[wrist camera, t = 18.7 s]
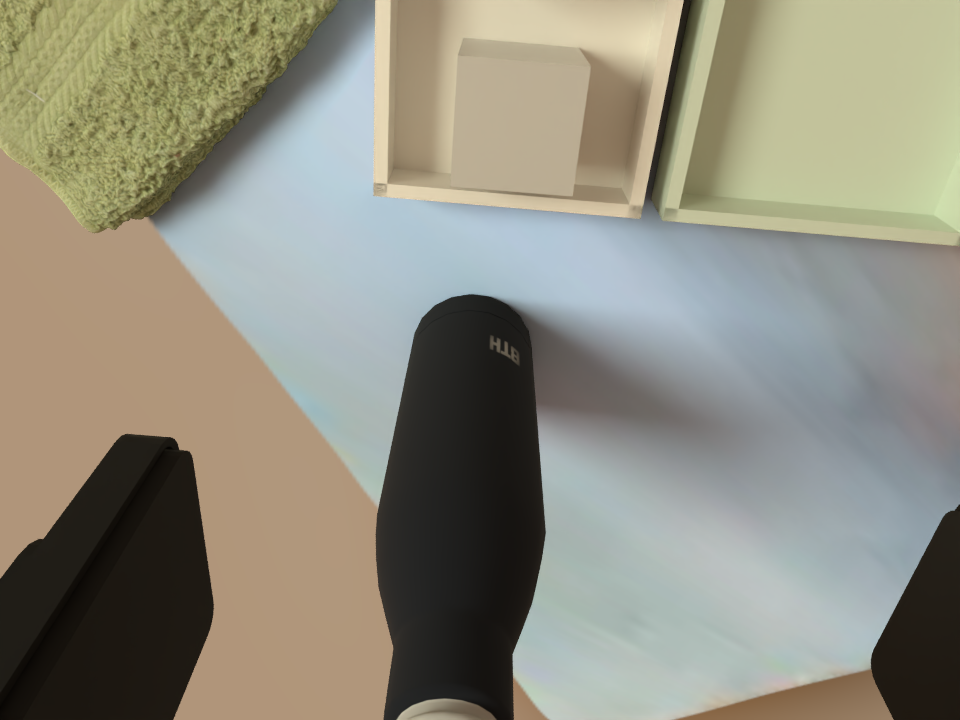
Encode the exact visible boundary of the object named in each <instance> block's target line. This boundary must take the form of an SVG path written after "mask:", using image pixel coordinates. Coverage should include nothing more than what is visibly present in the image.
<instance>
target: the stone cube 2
mask: <svg viewBox="0 0 960 720" xmlns="http://www.w3.org/2000/svg"><path fill="white" fill-rule="evenodd" d="M590 71H591V66H590V64H589V63H588V61H587V60H586V58H585V56H584V55H583V53H582V52H581V50H580V49H579V48H577V47H565V46H554V45H542V44H530V43H519V42H507V41H495V40H484V39H472V38H463V40H462V43H461V47H460V50H459V53H458V59H457V76H456V94H455V111H454V128H453V146H452V163H451V181H450V187H462V188H474V189H487V190H499V191H511V192H523V193H536V194H548V195H560V196H572V197H573V190H574V183H575V176H576V169H577V162H578V155H579V148H580V141H581V134H582V127H583V120H584V113H585V106H586V99H587V92H588V85H589V78H590Z"/></svg>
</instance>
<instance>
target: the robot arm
mask: <svg viewBox="0 0 960 720" xmlns="http://www.w3.org/2000/svg"><path fill="white" fill-rule="evenodd" d="M213 607H214V604H213V595H212V589H211V582H210V575H209V569H208V561H207V554H206V547H205V540H204V533H203V526H202V519H201V512H200V505H199V499H198V491H197V485H196V478H195V471H194V464H193V458H192V455H191V453H190V452H188V451H184V450H179V447H178V444H177V442H176V441H175V439H173V438H171V437H159V436H158V437H157V436H145V435H133V434H125V435H122V436H121V437H120V438H119V439H118V440H117V441H116V442H115V443H114V445H113V446H112V447H111V449H110V450H109V451H108V453H107V454H106V455H105V457H104V458H103V459H102V461H101V462H100V464H99V465H98V466H97V468H96V469H95V470H94V472H93V473H92V474H91V476H90V477H89V478H88V480H87V481H86V482H85V484H84V485H83V486H82V488H81V489H80V490H79V492H78V493H77V494H76V496H75V497H74V499H73V500H72V501H71V503H70V504H69V506H68V507H67V508H66V509H65V511H64V512H63V513H62V515H61V516H60V517H59V519H58V520H57V521H56V523H55V524H54V525H53V527H52V528H51V530H50V531H49V532H48V534H47V535H46V536H45V538H44V539H38V540H36V541H34V542H32V543H30V544H29V545H28V546H27V547H26V548H25V549H24V550H23V551H22V552H21V553H20V554H19V555H18V556H17V558H16V559H15V560H14V562H13V563H12V564H11V566H10V567H9V568H8V570H7V571H6V572H5V574H4V575H3V576H2V578H1V579H0V720H173V719H174V717H175V714H176V712H177V709H178V707H179V704H180V702H181V699H182V697H183V694H184V692H185V690H186V687H187V684H188V682H189V680H190V677H191V675H192V673H193V670H194V668H195V665H196V663H197V660H198V658H199V656H200V653H201V651H202V648H203V646H204V643H205V641H206V639H207V636H208V633H209V631H210V627H211V623H212V618H213V609H214V608H213ZM871 669H872V674H873V678H874V680H875V683H876V685H877V687H878V689H879V691H880V693H881V695H882V697H883V699H884V701H885V703H886V705H887V707H888V709H889V711H890V713H891V715H892V717H893V719H894V720H960V504H959V505H958V507H957V508H956V509H955V511H950V512H948V513H946V514H945V516H944V517H943V518H942V520H941V522H940V524H939V526H938V528H937V530H936V532H935V533H934V535H933V537H932V539H931V541H930V543H929V545H928V547H927V549H926V551H925V553H924V554H923V556H922V558H921V560H920V562H919V564H918V566H917V568H916V570H915V572H914V574H913V575H912V577H911V579H910V581H909V583H908V585H907V587H906V589H905V591H904V593H903V595H902V596H901V598H900V600H899V602H898V604H897V606H896V608H895V610H894V612H893V614H892V616H891V617H890V619H889V621H888V623H887V625H886V627H885V629H884V631H883V633H882V635H881V637H880V638H879V640H878V642H877V644H876V646H875V648H874V650H873V653H872V658H871Z"/></svg>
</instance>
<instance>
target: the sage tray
mask: <svg viewBox="0 0 960 720" xmlns="http://www.w3.org/2000/svg"><path fill="white" fill-rule="evenodd" d="M651 201H652V202H653V204H654V206H655V208H656V210H657V212H658V213H659V215H660V217H661V219H662V221H673V222H684V223H696V224H708V225H719V226H731V227H743V228H754V229H766V230H778V231H789V232H801V233H813V234H825V235H836V236H848V237H860V238H871V239H883V240H895V241H906V242H918V243H930V244H941V245H953V246H960V0H691V4H690V8H689V13H688V18H687V23H686V28H685V33H684V38H683V43H682V48H681V53H680V58H679V63H678V68H677V73H676V78H675V82H674V87H673V92H672V97H671V102H670V107H669V112H668V117H667V122H666V127H665V132H664V137H663V142H662V147H661V152H660V156H659V161H658V166H657V171H656V176H655V181H654V186H653V191H652V196H651Z"/></svg>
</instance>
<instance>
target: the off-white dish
mask: <svg viewBox="0 0 960 720" xmlns="http://www.w3.org/2000/svg"><path fill="white" fill-rule="evenodd" d="M683 2H684V0H375V94H374V196H380V197H392V198H404V199H415V200H427V201H439V202H450V203H462V204H474V205H485V206H497V207H509V208H521V209H532V210H544V211H556V212H567V213H579V214H591V215H602V216H614V217H626V218H637V219H641V214H642V208H643V203H644V198H645V193H646V188H647V183H648V178H649V173H650V168H651V163H652V158H653V153H654V148H655V143H656V138H657V133H658V128H659V123H660V118H661V113H662V108H663V102H664V97H665V92H666V87H667V82H668V77H669V72H670V67H671V62H672V57H673V52H674V47H675V42H676V37H677V32H678V27H679V22H680V17H681V12H682V7H683ZM463 38H472V39H484V40H495V41H507V42H519V43H530V44H542V45H554V46H565V47H577V48H579V49H580V50H581V52H582V53H583V55H584V56H585V58H586V60H587V61H588V63H589V64H590V66H591V71H590V78H589V85H588V92H587V99H586V106H585V113H584V120H583V127H582V134H581V141H580V148H579V155H578V162H577V169H576V176H575V183H574V190H573V197H572V196H560V195H548V194H536V193H523V192H511V191H499V190H487V189H474V188H462V187H450V181H451V163H452V146H453V128H454V111H455V94H456V76H457V59H458V53H459V50H460V47H461V43H462V40H463Z"/></svg>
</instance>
